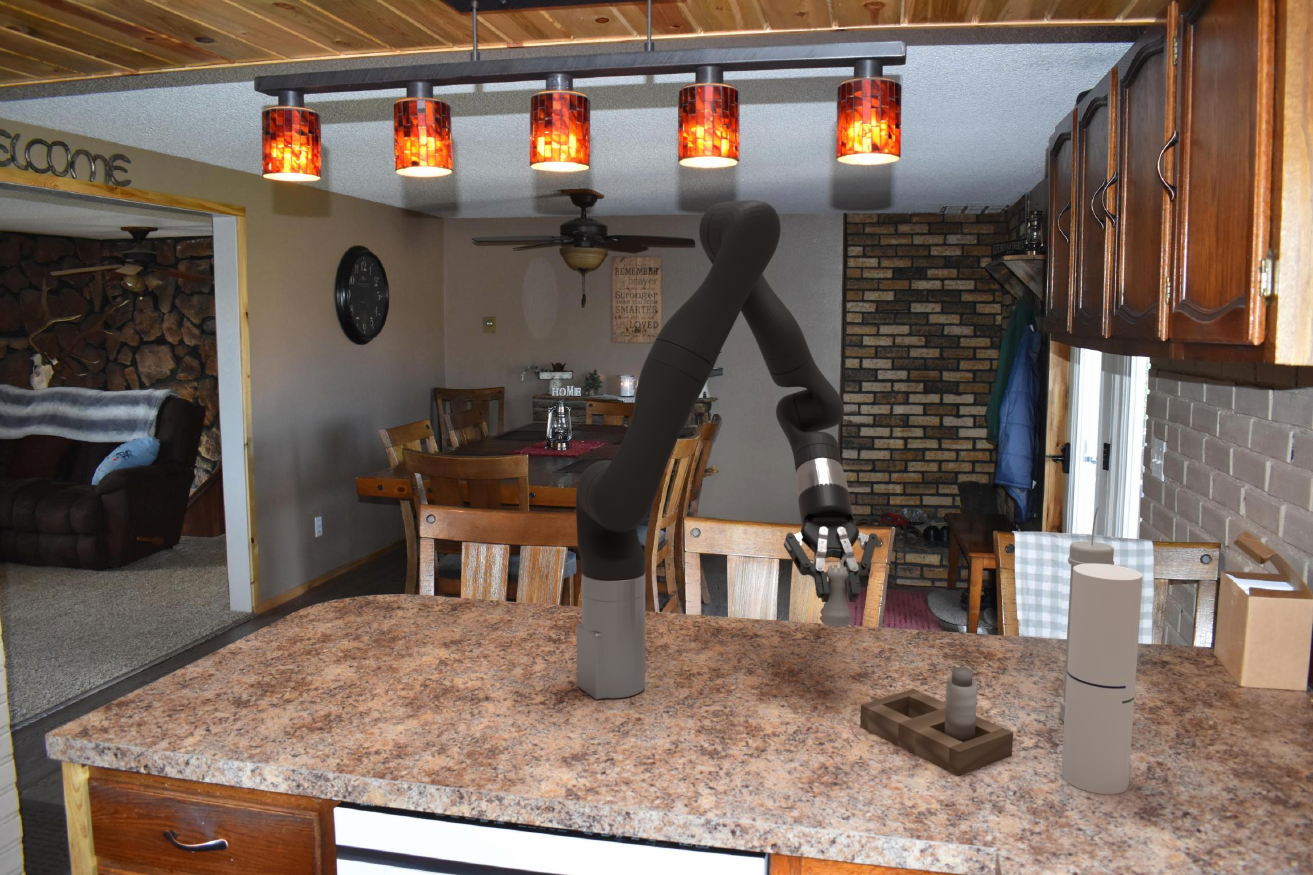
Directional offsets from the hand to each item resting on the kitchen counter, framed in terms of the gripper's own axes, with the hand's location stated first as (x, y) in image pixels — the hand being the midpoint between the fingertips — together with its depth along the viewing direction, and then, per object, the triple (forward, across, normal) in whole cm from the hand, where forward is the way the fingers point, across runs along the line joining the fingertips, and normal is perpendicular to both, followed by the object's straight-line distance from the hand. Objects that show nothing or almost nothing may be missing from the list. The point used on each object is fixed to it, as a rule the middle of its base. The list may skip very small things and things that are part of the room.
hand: (839, 599), depth 126 cm
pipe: (+15, +32, +6) cm, 36 cm away
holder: (+19, +10, +3) cm, 21 cm away
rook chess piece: (+2, 0, +4) cm, 5 cm away
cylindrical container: (+26, +25, -5) cm, 37 cm away
